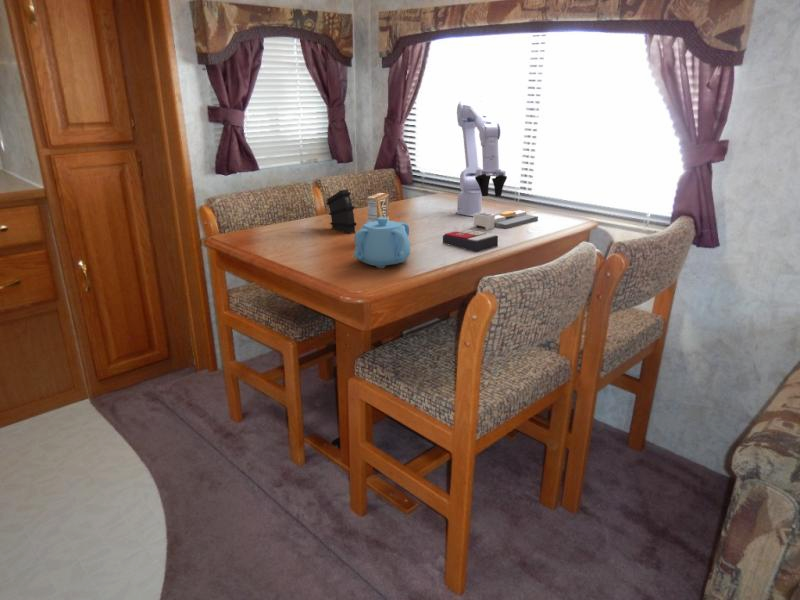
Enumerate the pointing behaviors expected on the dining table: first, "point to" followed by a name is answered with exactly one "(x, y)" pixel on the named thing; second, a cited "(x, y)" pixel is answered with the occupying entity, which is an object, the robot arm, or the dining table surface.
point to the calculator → (471, 240)
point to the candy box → (378, 206)
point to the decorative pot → (382, 242)
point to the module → (484, 220)
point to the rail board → (513, 219)
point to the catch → (508, 213)
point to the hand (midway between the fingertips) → (491, 196)
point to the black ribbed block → (342, 212)
